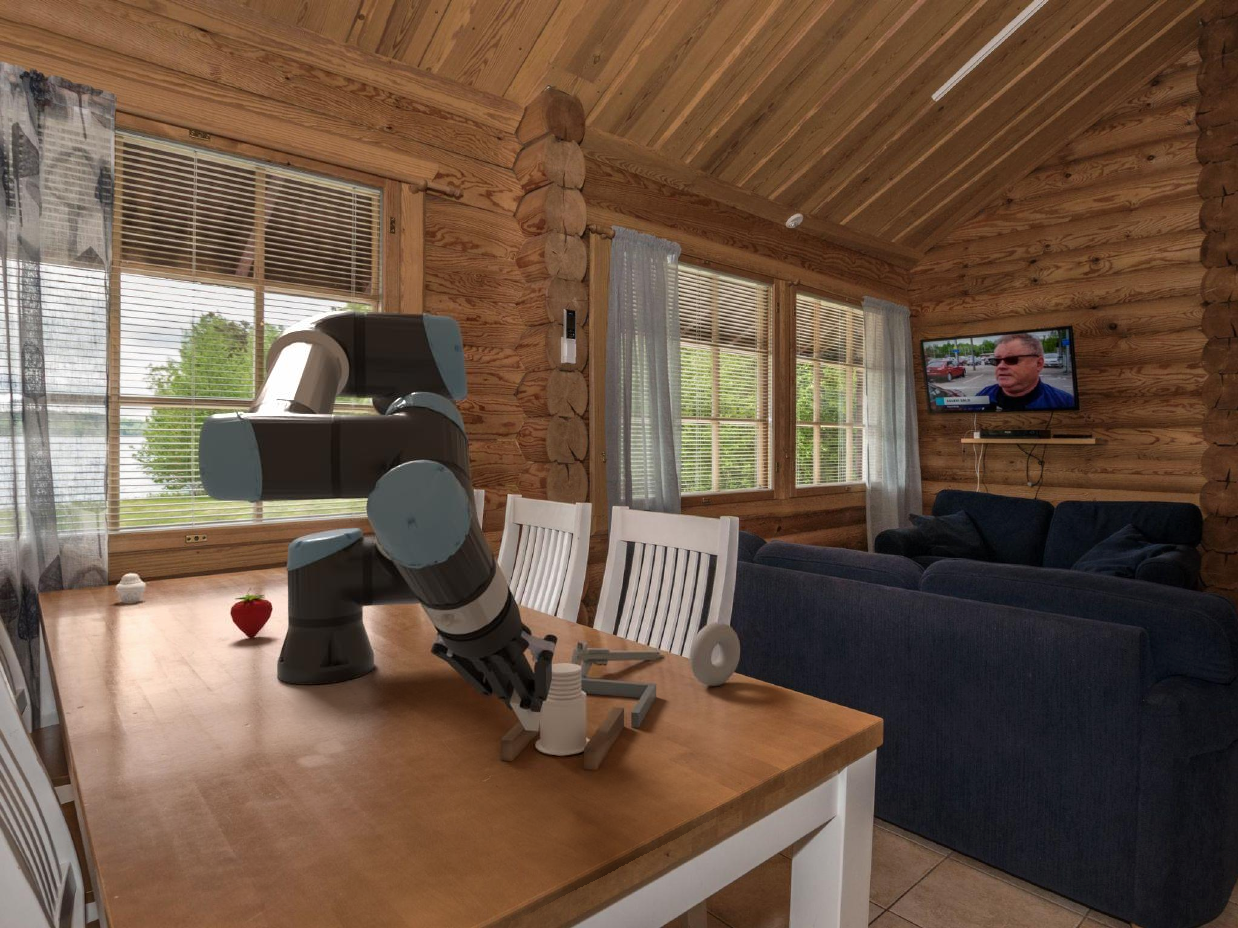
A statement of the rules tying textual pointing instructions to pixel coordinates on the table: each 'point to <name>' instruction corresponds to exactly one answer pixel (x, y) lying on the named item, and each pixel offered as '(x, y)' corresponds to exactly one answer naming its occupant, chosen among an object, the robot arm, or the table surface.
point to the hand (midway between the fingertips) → (534, 718)
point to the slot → (592, 751)
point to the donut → (703, 653)
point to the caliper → (606, 656)
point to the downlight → (564, 713)
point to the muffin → (130, 588)
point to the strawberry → (251, 614)
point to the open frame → (624, 694)
